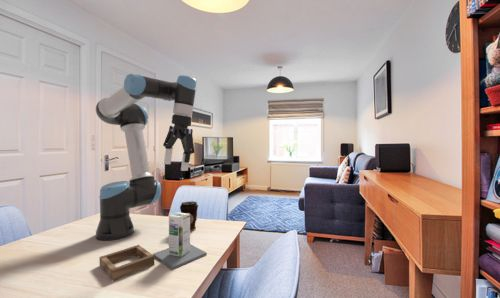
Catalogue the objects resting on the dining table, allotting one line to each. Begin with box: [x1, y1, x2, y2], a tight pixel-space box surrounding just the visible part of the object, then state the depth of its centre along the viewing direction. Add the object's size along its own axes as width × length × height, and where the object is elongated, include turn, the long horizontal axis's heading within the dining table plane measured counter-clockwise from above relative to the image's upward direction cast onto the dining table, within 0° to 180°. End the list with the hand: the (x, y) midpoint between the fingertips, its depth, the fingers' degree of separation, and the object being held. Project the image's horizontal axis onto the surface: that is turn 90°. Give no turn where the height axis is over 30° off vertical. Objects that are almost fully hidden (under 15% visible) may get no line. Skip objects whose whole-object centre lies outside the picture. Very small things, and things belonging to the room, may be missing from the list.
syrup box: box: [168, 211, 191, 257], centre depth 88 cm, size 6×6×14 cm
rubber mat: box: [152, 243, 208, 270], centre depth 88 cm, size 14×14×1 cm
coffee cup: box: [179, 200, 199, 232], centre depth 114 cm, size 9×8×13 cm
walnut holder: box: [99, 244, 155, 281], centre depth 81 cm, size 13×13×3 cm
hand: (175, 167), depth 96 cm, fingers open, 13 cm apart
